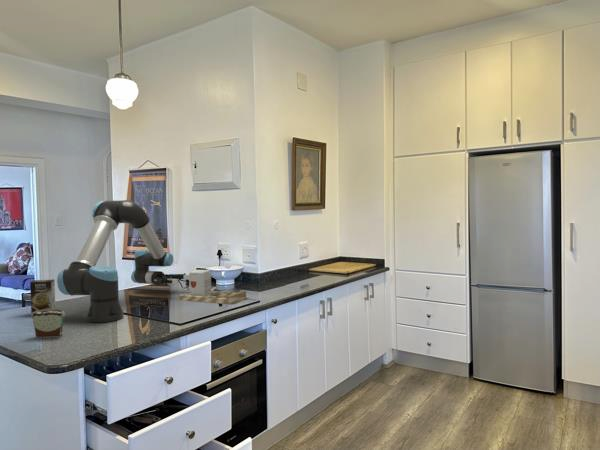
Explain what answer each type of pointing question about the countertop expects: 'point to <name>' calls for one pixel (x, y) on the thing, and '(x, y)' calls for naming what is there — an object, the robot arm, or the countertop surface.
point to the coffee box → (42, 295)
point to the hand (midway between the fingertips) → (185, 279)
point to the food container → (48, 322)
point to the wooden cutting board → (229, 295)
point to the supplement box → (200, 283)
